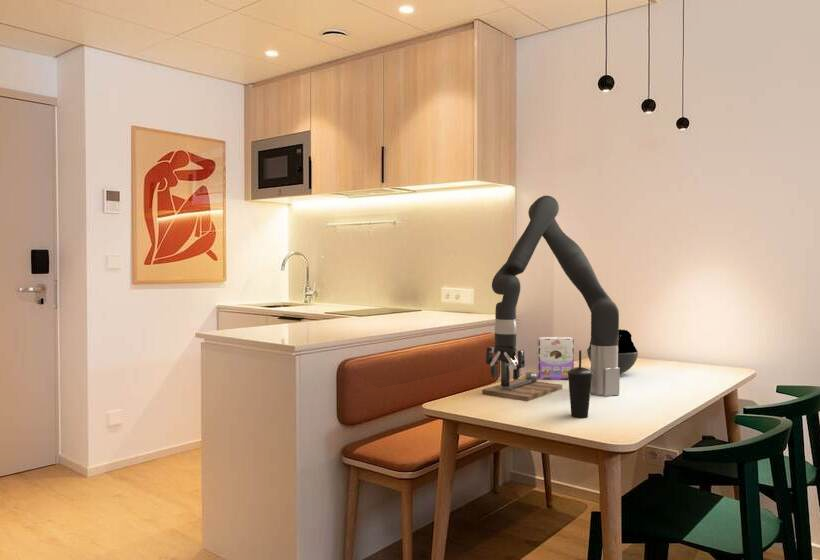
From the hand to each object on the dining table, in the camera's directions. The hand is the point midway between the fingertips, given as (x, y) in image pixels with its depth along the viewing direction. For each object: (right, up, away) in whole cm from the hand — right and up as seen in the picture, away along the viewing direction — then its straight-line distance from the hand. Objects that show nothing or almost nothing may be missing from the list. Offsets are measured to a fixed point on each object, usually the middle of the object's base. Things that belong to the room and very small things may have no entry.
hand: (504, 378), depth 224 cm
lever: (+6, -4, +8) cm, 10 cm away
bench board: (+7, -6, +6) cm, 11 cm away
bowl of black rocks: (+50, -5, +39) cm, 64 cm away
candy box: (+24, -5, +31) cm, 39 cm away
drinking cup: (+18, -7, -30) cm, 36 cm away
